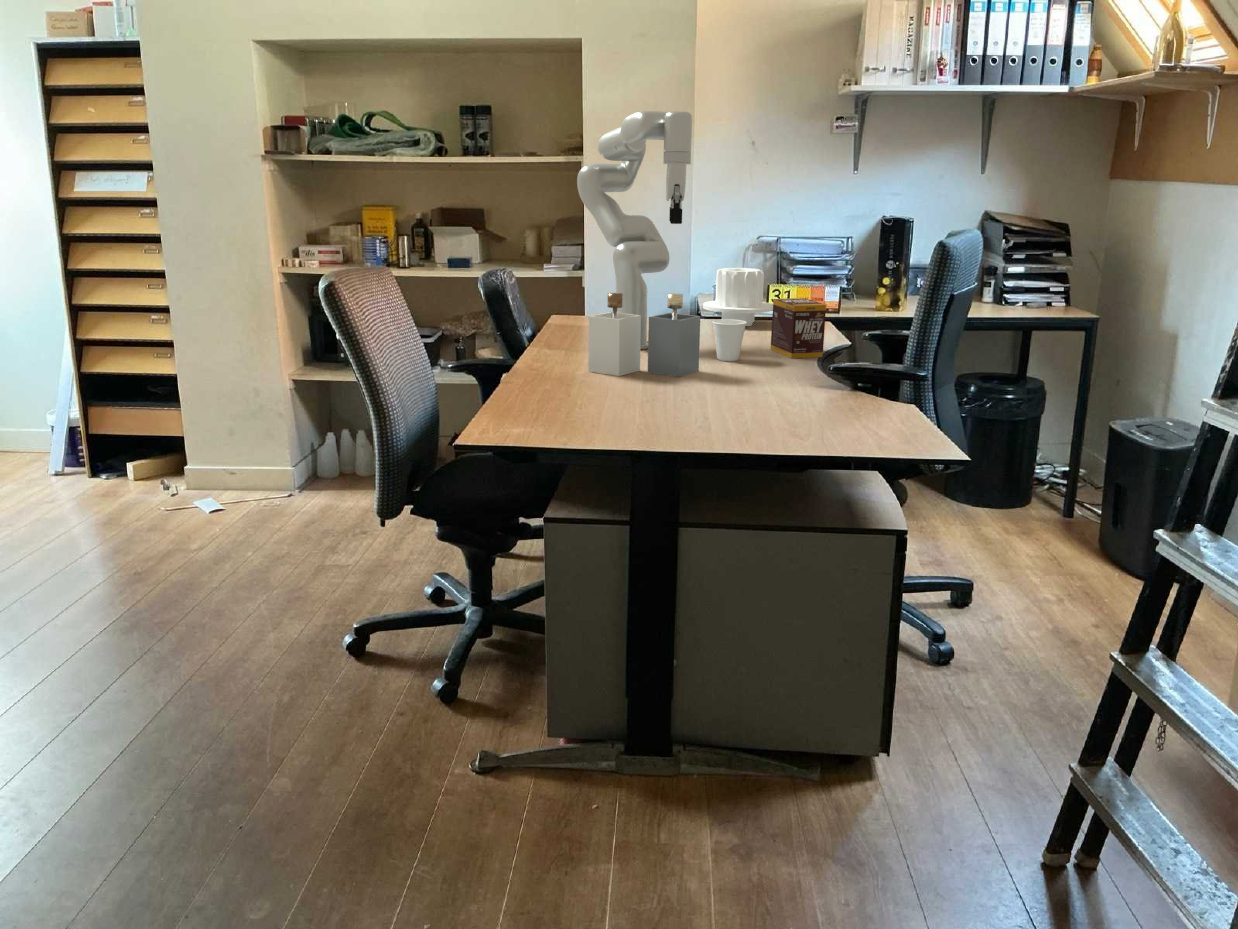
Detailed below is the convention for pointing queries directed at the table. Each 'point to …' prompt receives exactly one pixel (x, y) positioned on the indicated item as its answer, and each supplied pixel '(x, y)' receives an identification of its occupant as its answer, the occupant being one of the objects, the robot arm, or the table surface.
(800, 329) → the supplement box
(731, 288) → the flanged gear
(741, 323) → the cup
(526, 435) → the table surface
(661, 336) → the grey open box
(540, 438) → the table surface
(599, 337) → the white open box
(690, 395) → the table surface
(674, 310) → the brass knobbed plunger
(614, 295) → the bronze knobbed rod
